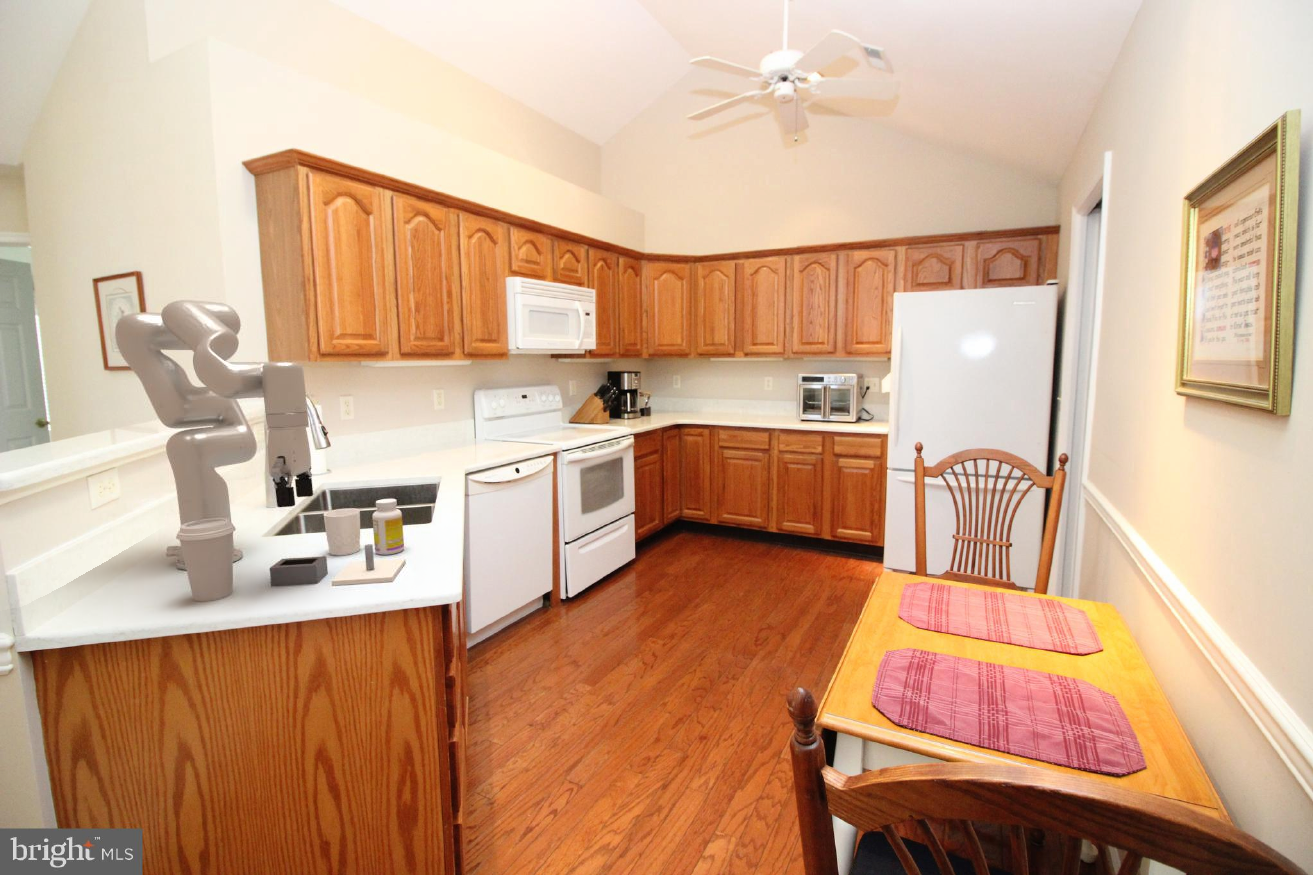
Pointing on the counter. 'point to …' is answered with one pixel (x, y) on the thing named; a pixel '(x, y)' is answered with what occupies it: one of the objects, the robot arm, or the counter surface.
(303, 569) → the link
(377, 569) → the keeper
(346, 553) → the white cup
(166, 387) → the robot arm
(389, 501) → the supplement bottle
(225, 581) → the coffee cup
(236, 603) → the counter surface
